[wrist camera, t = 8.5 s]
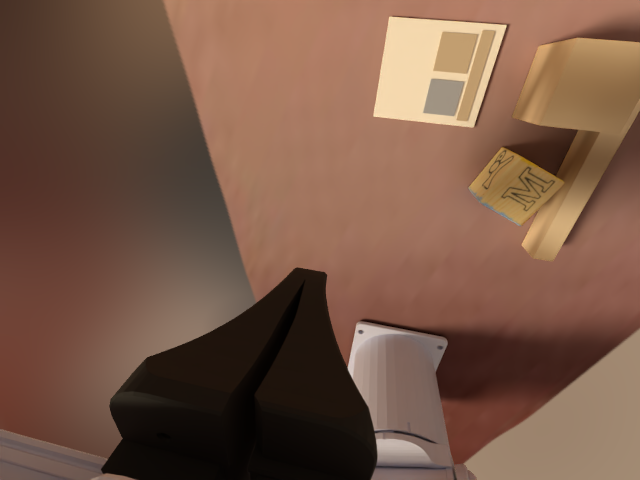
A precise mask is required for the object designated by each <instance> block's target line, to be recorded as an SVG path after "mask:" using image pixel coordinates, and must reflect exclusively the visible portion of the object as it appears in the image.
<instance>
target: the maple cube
mask: <svg viewBox="0 0 640 480" xmlns="http://www.w3.org/2000/svg"><path fill="white" fill-rule="evenodd" d="M639 99H640V42H629V41H615V40H602V39H588V38H574V39H569V40H564V41H560V42H555V43H550V44H546V45H541V46H539V47H538V49H537V52H536V55H535V57H534V60H533V63H532V65H531V68H530V70H529V73H528V76H527V78H526V81H525V84H524V86H523V89H522V92H521V94H520V97H519V99H518V102H517V105H516V107H515V110H514V113H513V115H512V118H516V119H519V120H523V121H526V122H529V123H533V124H536V125H540V126H549V127H558V128H568V129H577V130H586V131H596V132H605V133H614V134H620V133H621V131H622V129H623V127H624V126H625V124H626V122H627V120H628V119H629V117H630V115H631V113H632V111H633V110H634V108H635V106H636V104H637V103H638V101H639Z"/></svg>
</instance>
